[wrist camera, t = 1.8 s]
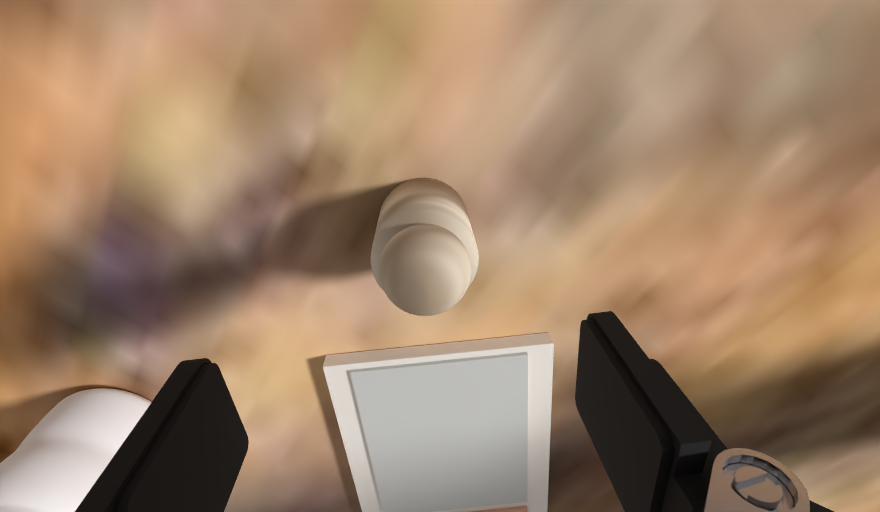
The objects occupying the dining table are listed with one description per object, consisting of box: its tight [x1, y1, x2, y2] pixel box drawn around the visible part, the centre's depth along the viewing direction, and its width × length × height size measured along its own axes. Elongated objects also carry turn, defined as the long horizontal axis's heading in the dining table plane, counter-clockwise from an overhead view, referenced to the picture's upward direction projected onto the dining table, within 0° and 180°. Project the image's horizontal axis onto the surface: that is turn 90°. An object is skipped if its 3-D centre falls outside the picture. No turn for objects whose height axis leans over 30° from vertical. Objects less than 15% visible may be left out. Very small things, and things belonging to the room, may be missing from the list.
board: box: [323, 333, 554, 512], centre depth 30 cm, size 13×28×1 cm, turn 5°
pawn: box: [370, 178, 479, 316], centre depth 18 cm, size 4×4×7 cm
